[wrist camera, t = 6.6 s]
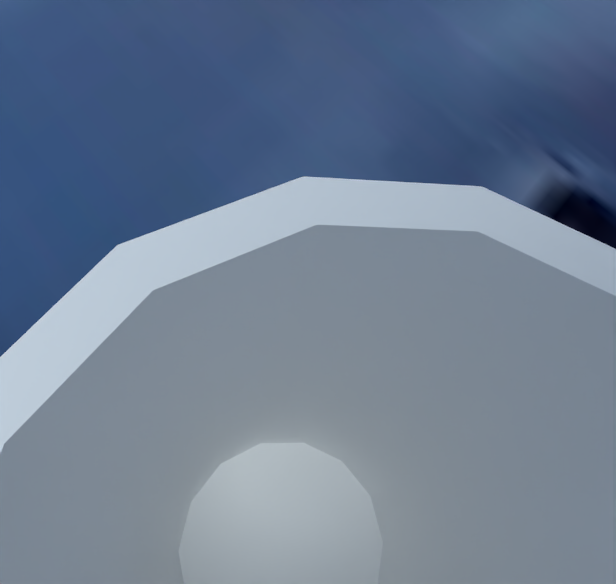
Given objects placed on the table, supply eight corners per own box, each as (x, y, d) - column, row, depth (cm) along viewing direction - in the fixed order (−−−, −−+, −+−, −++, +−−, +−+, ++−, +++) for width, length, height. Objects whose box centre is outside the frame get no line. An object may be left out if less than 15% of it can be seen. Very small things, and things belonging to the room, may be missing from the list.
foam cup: (173, 360, 18) (85, 84, 6) (443, 421, 19) (840, 278, 7) (72, 703, 15) (-593, 1627, 3) (408, 764, 15) (1110, 1729, 3)
